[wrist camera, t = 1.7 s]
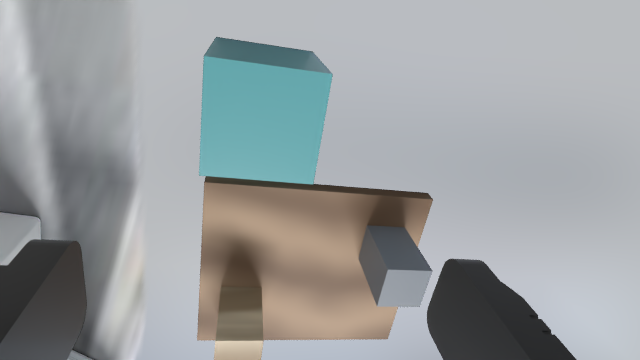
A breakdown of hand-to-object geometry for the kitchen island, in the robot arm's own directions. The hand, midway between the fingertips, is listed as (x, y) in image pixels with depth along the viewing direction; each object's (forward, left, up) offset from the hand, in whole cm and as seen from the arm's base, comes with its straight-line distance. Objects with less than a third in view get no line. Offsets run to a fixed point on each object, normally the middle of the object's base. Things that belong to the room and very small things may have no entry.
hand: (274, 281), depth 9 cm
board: (+13, +5, -17) cm, 22 cm away
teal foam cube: (0, 0, -17) cm, 17 cm away
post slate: (+10, +10, -16) cm, 22 cm away
